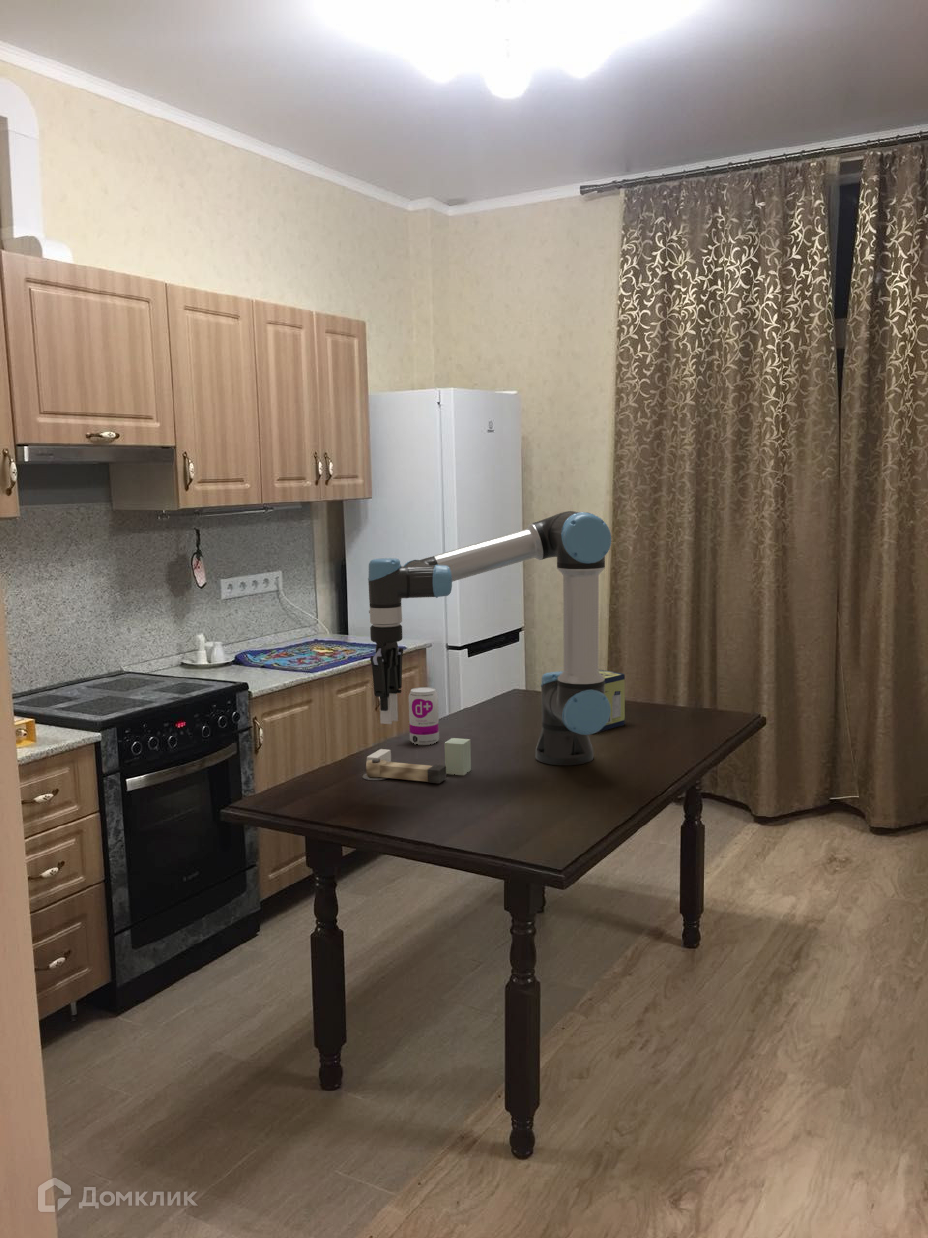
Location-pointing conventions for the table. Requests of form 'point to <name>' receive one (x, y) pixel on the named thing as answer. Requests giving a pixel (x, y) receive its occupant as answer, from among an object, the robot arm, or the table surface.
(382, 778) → the pivot plate
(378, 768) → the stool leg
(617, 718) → the protein box
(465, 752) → the tall sage green block
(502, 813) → the table surface
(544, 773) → the table surface
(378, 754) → the stop block
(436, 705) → the supplement can
